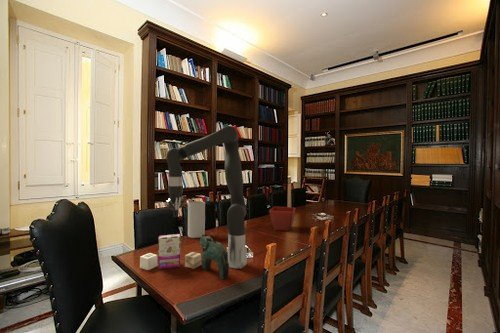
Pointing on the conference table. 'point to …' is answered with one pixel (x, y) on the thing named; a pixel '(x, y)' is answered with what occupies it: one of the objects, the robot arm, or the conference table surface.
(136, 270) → the conference table surface
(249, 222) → the conference table surface
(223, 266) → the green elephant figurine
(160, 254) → the candy bar box
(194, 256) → the maple block one
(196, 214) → the cylinder vase
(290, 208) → the plant pot
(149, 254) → the white block two
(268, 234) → the conference table surface
